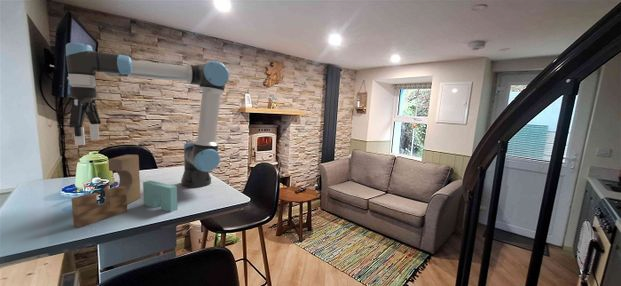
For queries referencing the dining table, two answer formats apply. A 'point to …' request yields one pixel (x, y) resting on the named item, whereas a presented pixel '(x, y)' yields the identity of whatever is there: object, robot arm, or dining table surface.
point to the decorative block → (127, 174)
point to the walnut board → (98, 206)
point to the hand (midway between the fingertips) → (88, 142)
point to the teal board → (160, 195)
